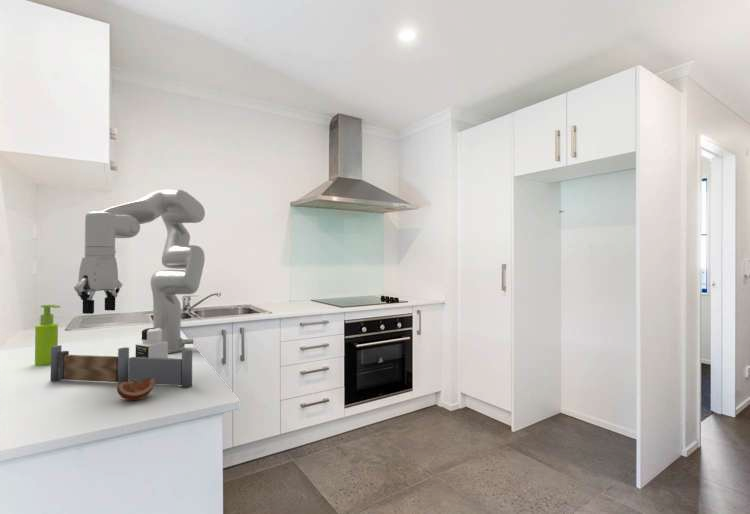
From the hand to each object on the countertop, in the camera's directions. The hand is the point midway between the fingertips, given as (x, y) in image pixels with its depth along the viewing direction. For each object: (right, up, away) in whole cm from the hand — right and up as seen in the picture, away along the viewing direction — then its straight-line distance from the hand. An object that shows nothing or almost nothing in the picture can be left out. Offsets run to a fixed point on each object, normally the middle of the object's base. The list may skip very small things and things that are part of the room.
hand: (99, 311), depth 117 cm
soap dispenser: (-29, -20, +16) cm, 38 cm away
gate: (0, -19, -5) cm, 20 cm away
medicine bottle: (+7, -20, +16) cm, 26 cm away
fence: (+10, -20, -6) cm, 23 cm away
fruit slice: (+23, -20, -19) cm, 36 cm away
